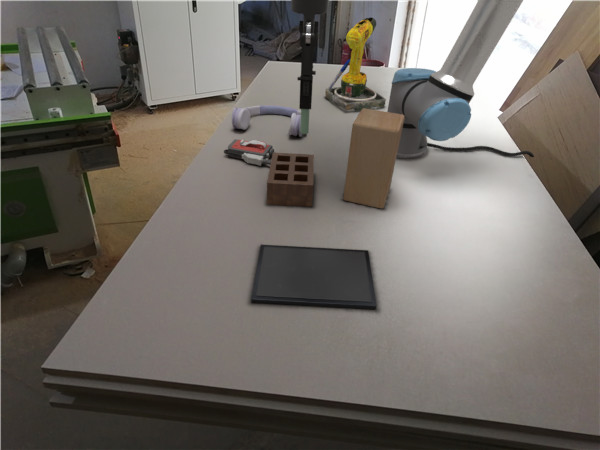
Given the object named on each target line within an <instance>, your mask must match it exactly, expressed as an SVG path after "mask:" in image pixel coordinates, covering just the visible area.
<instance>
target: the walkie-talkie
mask: <svg viewBox="0 0 600 450" xmlns="http://www.w3.org/2000/svg"><path fill="white" fill-rule="evenodd" d="M273 152H275V149H274V148H273V145H272V144H268V143H267V142H265V141H261V140H260V141H259V140H256V139H252V140H250V141H249V140H245V139H244V138H243V139H233V140H232V141H231V142H230V143H229V144H228V145H227V149H224V150H223V154H224V155H227V156H228V157H230V158H234V159H239V160H243V161H244V162H245V163H247V164H250V165H256V166H260V167H262V165H269V166H270V165H271V160H270V158H271V157H272V155H273Z"/></svg>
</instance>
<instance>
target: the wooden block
mask: <svg viewBox="0 0 600 450" xmlns="http://www.w3.org/2000/svg"><path fill="white" fill-rule="evenodd" d="M359 111H360V112H359V113H358V115H357V116H356V118H355V119H354V121H353V123H352V125H351V126H352V127H351V132H350V133H351V134H350V143H349V149H348V157H347V167H346V172H345V173H346V174H345V181H344V189H343V197H342V198H343V201H345V202H349V203H355V204H359V205H364V206H367V207H372V208H377V209H385V205H386V202H387V199H388V196H389V192H390V190H391V185H392V180H393V176H394V170H395V165H396V161H397V158H396V157H397V152H398V147H399V142H400V137H401V132H402V128H403V123H404V118H405V116H404V115H402V114H396V113H390V112H387V111H383V110H376V109H372V108H369V109H365V108H363V109H362V110H359Z"/></svg>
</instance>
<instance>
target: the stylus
mask: <svg viewBox="0 0 600 450" xmlns="http://www.w3.org/2000/svg"><path fill="white" fill-rule="evenodd" d="M310 110H311V109H300V111H301V122H300V133H302V136H301V138H307V134H309V131H310V130H309V128H310Z"/></svg>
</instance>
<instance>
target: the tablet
mask: <svg viewBox="0 0 600 450" xmlns="http://www.w3.org/2000/svg"><path fill="white" fill-rule="evenodd" d="M370 260H371V259H370V254H369V250H367V249H352V248H351V249H350V248H348V249H347V248H334V247H333V248H331V247H312V246H294V245H275V244H260V247H259V252H258V259H257V262H256V263H257V264H256V270H255V275H254V280H253V287H252V292H251V297H250V298H251V299H250V303H252V304H253V303H254V304H271V305H290V306H291V305H292V306H308V307H325V308H326V307H327V308H341V309H342V308H345V309H362V310H363V309H365V310H377V300H376V299H377V298H376V293H375V287H374V279H373V274H372V273H373V272H372V267H371V261H370Z"/></svg>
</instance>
